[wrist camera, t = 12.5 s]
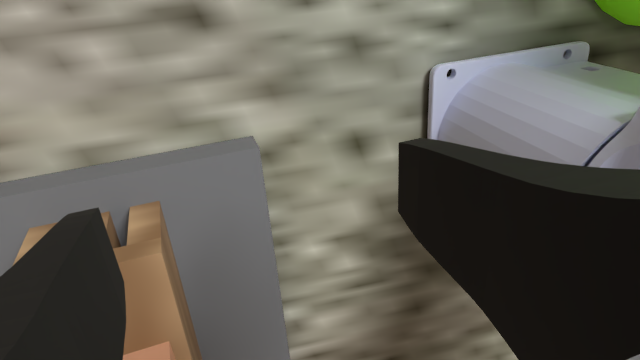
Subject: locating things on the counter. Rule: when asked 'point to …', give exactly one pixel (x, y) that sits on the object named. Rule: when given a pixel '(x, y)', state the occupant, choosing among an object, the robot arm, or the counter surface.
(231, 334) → the dock
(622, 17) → the wineglass
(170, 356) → the terracotta crate
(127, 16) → the counter surface
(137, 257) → the pallet
